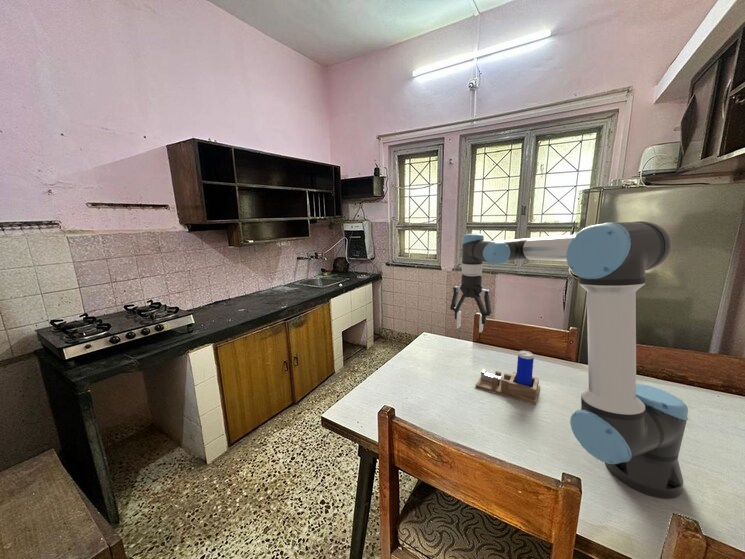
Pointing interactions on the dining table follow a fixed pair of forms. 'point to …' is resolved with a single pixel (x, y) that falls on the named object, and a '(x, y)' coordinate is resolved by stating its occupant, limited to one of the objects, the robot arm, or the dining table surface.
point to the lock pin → (489, 376)
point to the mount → (511, 387)
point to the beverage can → (524, 368)
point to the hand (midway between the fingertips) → (469, 328)
